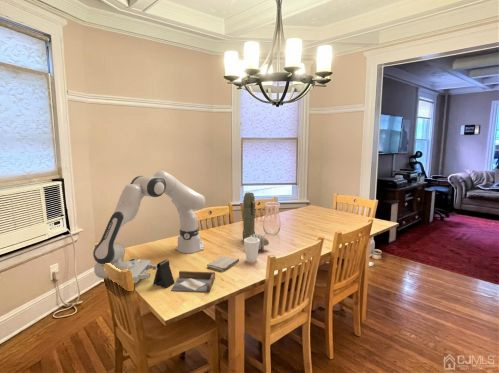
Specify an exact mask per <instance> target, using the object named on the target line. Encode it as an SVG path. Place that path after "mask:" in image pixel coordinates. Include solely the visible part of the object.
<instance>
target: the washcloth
mask: <svg viewBox="0 0 499 373" xmlns="http://www.w3.org/2000/svg"><path fill="white" fill-rule="evenodd" d="M239 262H240V258H237V257H231V256H227V255H221V256H220V257H218V258H216V259H214V260H212V261H211V262H208V263H207V265H206V266H207V267H206V268H207V269H210V270H212V271H217V272H221V273H223V272H226V271H228V270H229V269H231V268H232V267H233V266H235V265H236V264H238V263H239Z"/></svg>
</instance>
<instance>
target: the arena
mask: <svg viewBox="0 0 499 373" xmlns="http://www.w3.org/2000/svg"><path fill="white" fill-rule="evenodd" d="M215 279H216V272H215V271H212V272H211V271H189V270H187V271H186V270H179V272H178V278H177V279H176V281H175V283H174V284H173V286H172V288H171V290H170V291H171V292H186V293H187V292H188V293H206V294H207V293H208V294H209V293H211V290H212V287H213V284H214V283H215V282H214V281H215Z"/></svg>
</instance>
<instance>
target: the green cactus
mask: <svg viewBox="0 0 499 373" xmlns="http://www.w3.org/2000/svg"><path fill="white" fill-rule="evenodd" d="M255 200H256V199H255V194H254V193H253V192H245V193H244V196H243V200H242V202H243V206H242V208H243V209H242V218H243V219H242V220H243V221H242V222H243V226H242V227H243V229H242V230H243V231H242V242H243V241H244V239H245V238H249V237H250V235H252V236H253V234H255V235H256V231H255V223H256V222H255V219H256V201H255Z"/></svg>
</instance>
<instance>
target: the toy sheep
mask: <svg viewBox="0 0 499 373" xmlns="http://www.w3.org/2000/svg"><path fill="white" fill-rule="evenodd" d="M264 236H265V235H263V234H258V233H255V234H253V236H252V235H250V237H253V238H258V239H259V240H260V244H259V249H258V251H259V250H261V252H262V251H263V252H265V246H268V245H269V243H270V241H269V240H268V239H267V238H266V237H264ZM250 237H249V238H250ZM242 242H243V244H244V241H243V240H242Z"/></svg>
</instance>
